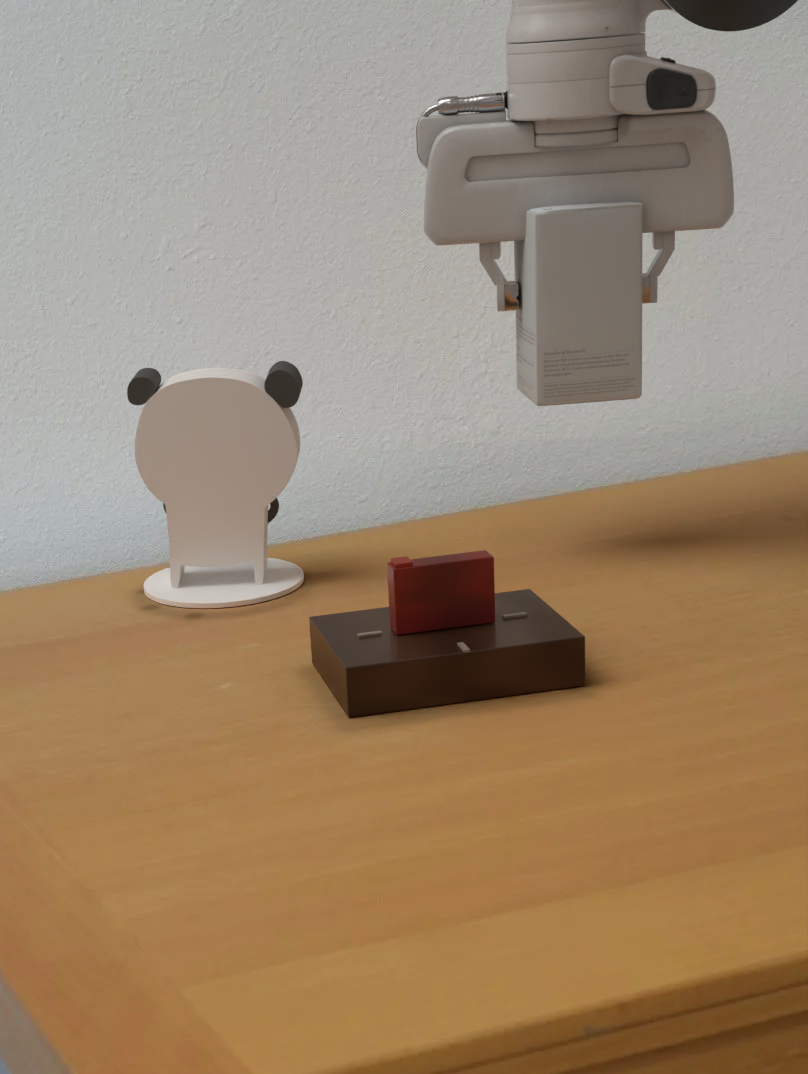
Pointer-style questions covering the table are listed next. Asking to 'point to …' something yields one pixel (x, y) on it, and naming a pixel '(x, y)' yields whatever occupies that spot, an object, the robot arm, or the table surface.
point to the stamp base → (446, 657)
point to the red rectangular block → (441, 592)
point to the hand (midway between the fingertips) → (577, 306)
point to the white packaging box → (580, 303)
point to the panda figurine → (218, 479)
